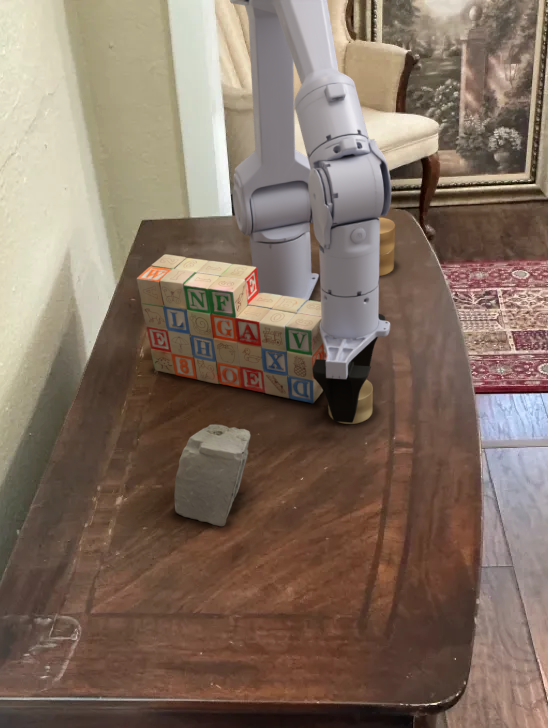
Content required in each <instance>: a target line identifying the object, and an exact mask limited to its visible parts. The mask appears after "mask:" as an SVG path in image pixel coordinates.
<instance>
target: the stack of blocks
mask: <svg viewBox="0 0 548 728" xmlns="http://www.w3.org/2000/svg"><path fill="white" fill-rule="evenodd" d="M136 283H137V288H138V292H139V297H140V305H141V309H142V314H143V319H144V324H145V326H146V332H147V336H148V341H149V347H150V353H151V359H152V363H153V367H154V371H157V372H161V373H166V374H171V375H175V376H179V377H184V378H187V379H193V380H198V381H202V382H207V383H211V384H216V385H223V386H230V387H235V388H239V389H244V390H250V391H254V392H258V393H265V394H267V395H272V396H276V397H281V398H285V399H290V400H295V401H299V402H305V403H310V404H314V403H315V402H316V401H317V400H318V398H319V397H320V395H321V394H322V393H323V392H324V391H323V390H322V388H321V386H320V385H319V383H318V382H317V381H316V380H315V379H314V377H313V371H312V368H313V365H314V363H315V360H316V359H321V360H326V358H327V356H326V352H325V349H324V345H323V341H322V338H321V334H320V322H321V301H319V300H318V301H317V300H311V299H309V300H307V299H301V298H295V297H289V296H282V295H276V294H269V293H259V285H258V275H257V268H256V267H252V265H245V264H239V263H238V264H236V263H230V262H223V261H217V260H216V261H215V260H206V259H201V258H200V259H199V258H191V257H185V256H181V255H173V254H163V255H162V256H161V257H160V258H158V259H157V260H156V261H155V262H153V263H152V264H151V265H150V266H149V267H147V268H146V269H145V270H144V271H143V272H142V273H141V274H140V275H138V276H137V277H136Z"/></svg>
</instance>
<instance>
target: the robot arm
mask: <svg viewBox="0 0 548 728" xmlns="http://www.w3.org/2000/svg"><path fill="white" fill-rule="evenodd" d="M229 2H230V4H233V5H239V6H244V8H245V12H246V15H247V18H248V19H247V20H248V36H249V57H250V74H251V75H250V76H251V94H252V114H253V133H254V134H253V136H254V151H252V153H250V154H249V155H248V156H247V157H246V158H245V159H243V160H242V161H241V162H240V163H239V164H238V165H237V166H236V167H235V168H234V174H233V188H232V206H233V213H234V217H235V221H236V224H237V228H238V229H239V231H240V232H241V233H242V234H243V235H244V236H246V237H247V236H248V237H249V247H250V258H251V266H252V267H256V268H257V275H258V285H259V293H269V294H276V295H282V296H289V297H295V298H301V299H307V300H308V301H309V300H310V299H311V296H312V293H313V291H314V290H315V287H316V285H317V282H318V280H319V284H320V287H319V288H320V302H321V322H320V334H321V338H322V341H323V345H324V349H325V352H326V356H327V358H326V360H321V359H316V360H315V363H314V365H313V368H312V371H313V377H314V379H315V380H316V381H317V382H318V383H319V385H320V386H321V388H322V390H323V391H322V392H323V393H324V395H325V398H326V402H327V405H329V408H330V411H331V414H332V417H333V419H332V420H333V421H334V422H335V423H336V422H337V423H340V422H347V423H352V422H353V420H354V417H355V414H356V410H357V405H358V398H359V393H360V389H361V387H362V385H363V384H364V382H365V380H368V376H369V374H370V371H371V368H372V366H371V362H372V357H373V354H374V349H375V345H376V342H377V340H378V339H379V338H385V337H388V335H389V334H390V331H391V322H390V321H388V320H386V316H385V315H383V314H382V313H379V307H380V306H379V305H380V304H379V303H380V301H379V299H380V276H379V249H380V219H379V218H381V217H386V216H387V215H388V213H389V211H390V209H391V203H392V181H391V175H390V170H389V166H388V165H389V164H388V162H387V159H386V157H385V155H384V153H383V151H381V149H380V148H379V146H378V143H377V141H376V140H375V138H369V133H368V129H367V125H366V122H365V118H364V115H363V111H362V107H361V103H360V98H359V95H358V92H357V88H356V83H355V81H354V80H353V79H352V77H350V76H348V75H346V74H345V73H343V72H342V71H340V70H339V65H338V59H337V53H336V47H335V40H334V34H333V28H332V22H331V15H330V10H329V3H328V0H229ZM295 70H296V73H297V76H298V79H299V81H300V84H301V85H300V87H299V89H298V91H297V93H296V95H295ZM295 113H296V116H297V117H296V118H297V122H298V124H299V129H300V134H301V138H302V140H303V145H304V149H305V152H306V155H305V154H304V153H303V152H300V151H298V150H297V149H296V138H295V137H296V128H295V126H296V123H295V122H296V121H295V120H296V119H295ZM311 224H313V232H314V238H315V239H316V241H317V242H318V253H319V273H315V272H312V247H311V244H312V243H311V227H310V226H311Z"/></svg>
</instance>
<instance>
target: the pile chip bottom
mask: <svg viewBox="0 0 548 728" xmlns="http://www.w3.org/2000/svg"><path fill="white" fill-rule="evenodd" d="M394 268H395V248H394V249H393V250H392V251H390V252H388V253H386V254H382V255H379V277H382V276H385V275H388V274H390V273H391V272H392V271H393V270H394Z"/></svg>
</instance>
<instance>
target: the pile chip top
mask: <svg viewBox="0 0 548 728" xmlns="http://www.w3.org/2000/svg"><path fill="white" fill-rule="evenodd" d="M379 219H380V249H379V255H382V254H386V253H388V252H390V251H392V250H393V249H394V250H395V241H396V224H395V222H394V220H391V219H389V218H385V217H379Z"/></svg>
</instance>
